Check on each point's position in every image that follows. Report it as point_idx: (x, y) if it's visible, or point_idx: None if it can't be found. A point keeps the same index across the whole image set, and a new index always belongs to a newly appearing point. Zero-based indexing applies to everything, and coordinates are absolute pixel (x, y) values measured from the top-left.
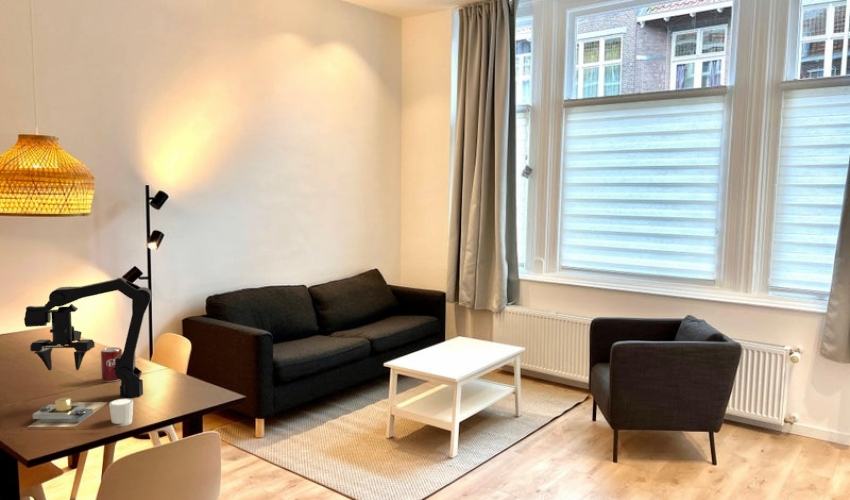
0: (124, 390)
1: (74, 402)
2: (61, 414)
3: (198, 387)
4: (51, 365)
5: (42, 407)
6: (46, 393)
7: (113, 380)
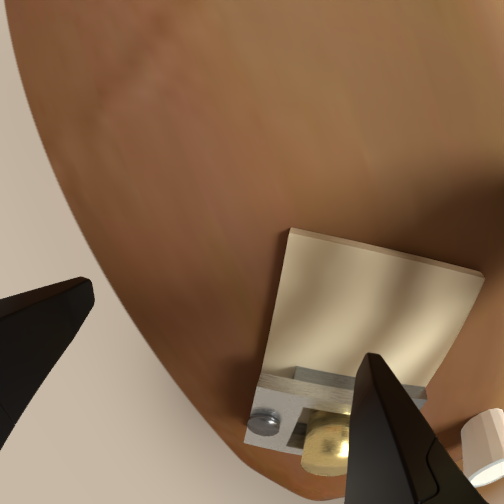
0: None
1: (331, 244)
2: None
3: None
4: (64, 296)
5: (254, 426)
6: (118, 27)
7: None
